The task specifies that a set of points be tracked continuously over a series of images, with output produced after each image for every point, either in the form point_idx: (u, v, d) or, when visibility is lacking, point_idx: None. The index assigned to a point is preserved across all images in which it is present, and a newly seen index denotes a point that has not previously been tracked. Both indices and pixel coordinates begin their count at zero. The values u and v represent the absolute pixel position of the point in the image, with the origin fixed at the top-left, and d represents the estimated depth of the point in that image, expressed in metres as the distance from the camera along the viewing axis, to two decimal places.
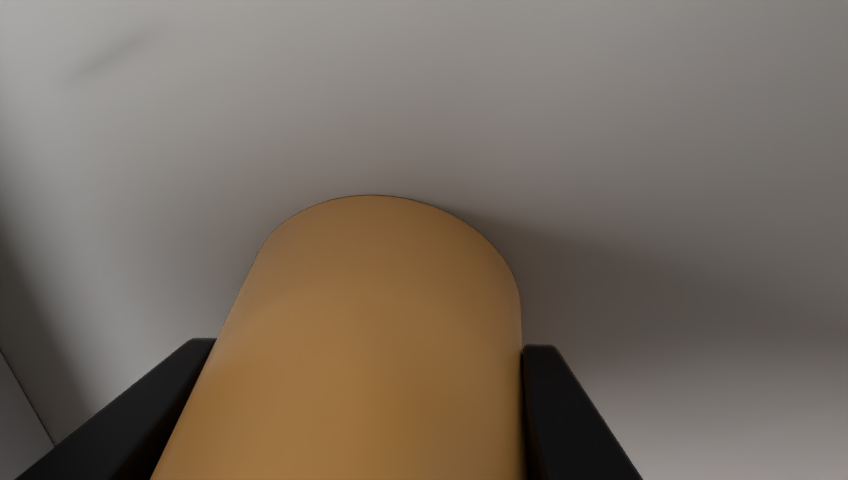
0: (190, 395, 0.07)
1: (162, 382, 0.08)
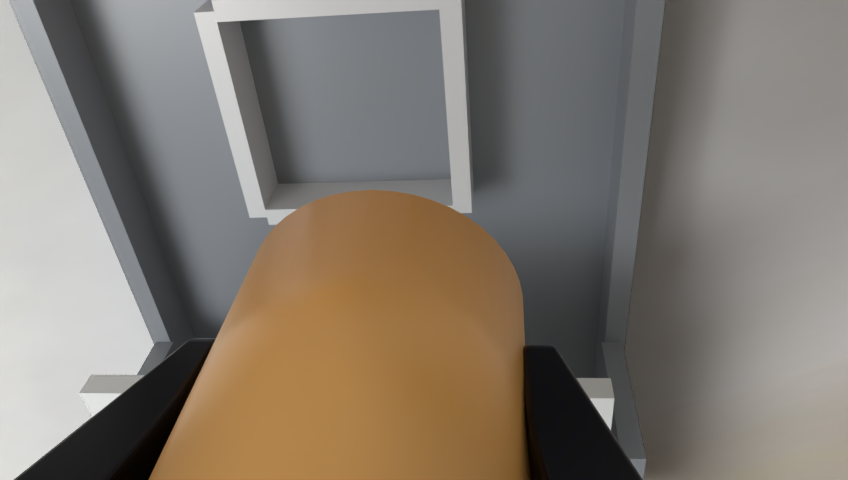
0: (191, 390, 0.07)
1: (162, 382, 0.08)
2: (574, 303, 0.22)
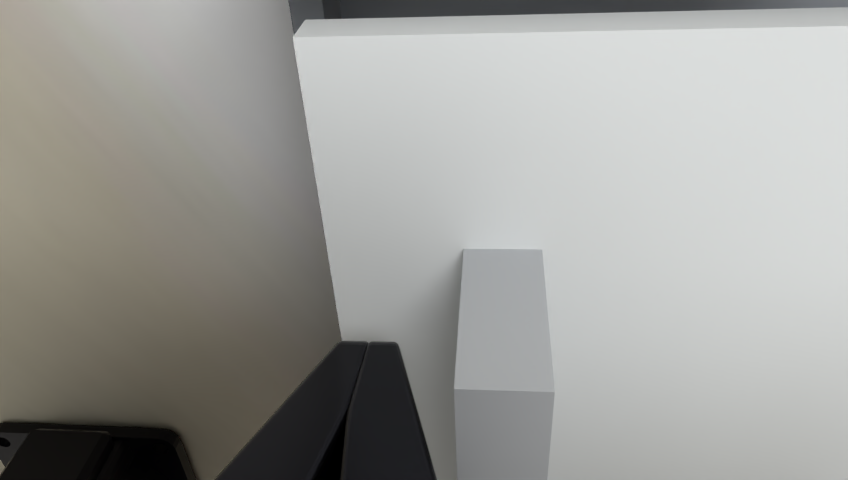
0: None
1: (327, 387, 0.08)
2: None
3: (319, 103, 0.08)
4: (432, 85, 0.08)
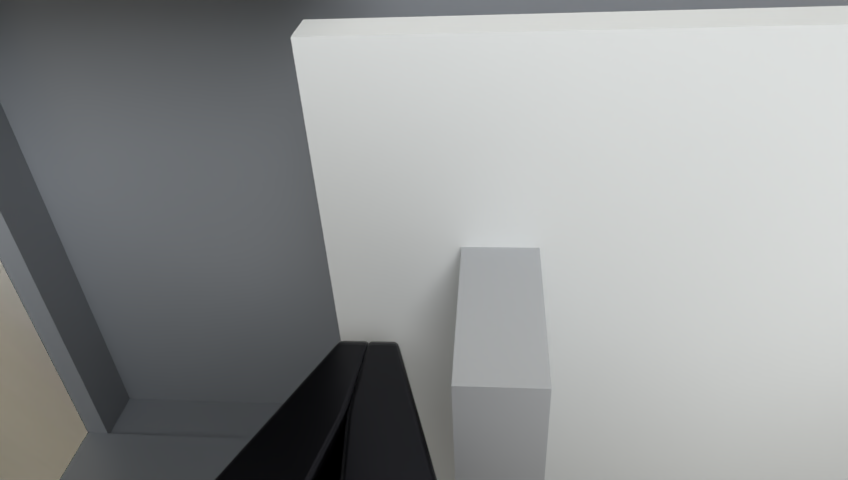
0: None
1: (327, 387, 0.08)
2: None
3: (317, 102, 0.08)
4: (430, 84, 0.08)
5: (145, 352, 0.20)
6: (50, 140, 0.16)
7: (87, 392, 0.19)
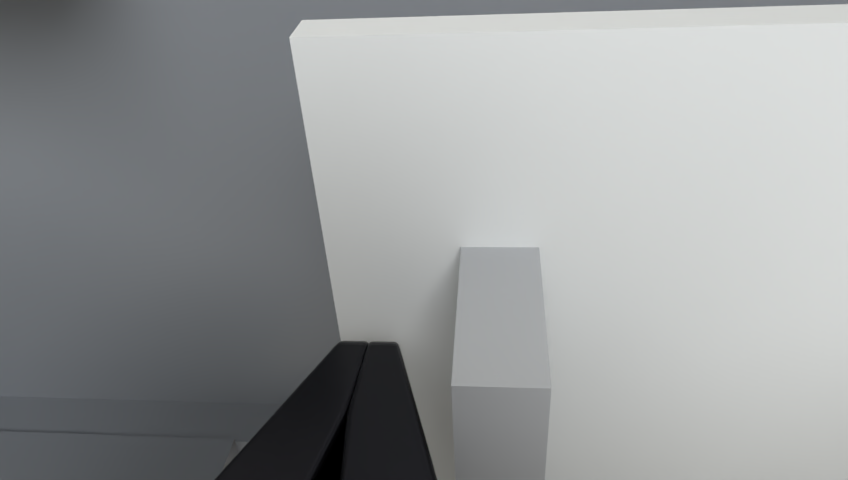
0: None
1: (326, 387, 0.08)
2: (254, 385, 0.20)
3: (316, 103, 0.08)
4: (429, 84, 0.08)
5: None
6: None
7: None
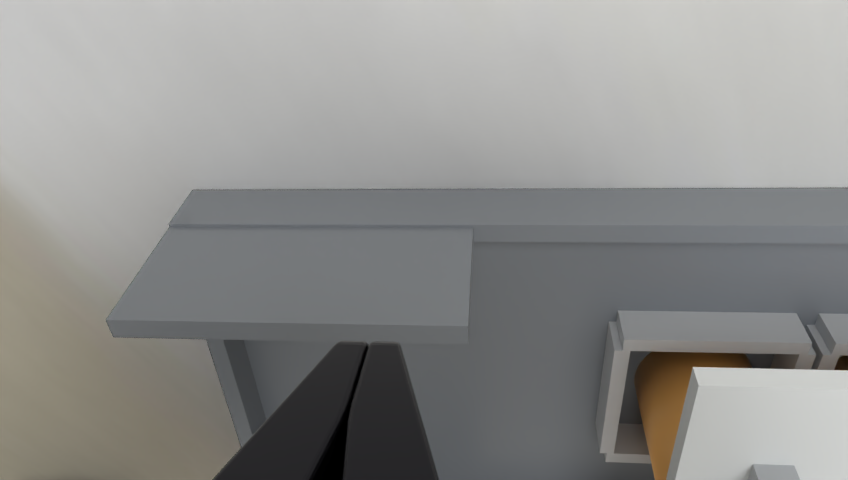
0: None
1: (325, 387, 0.08)
2: (486, 475, 0.29)
3: (701, 408, 0.16)
4: (760, 404, 0.16)
5: None
6: None
7: None
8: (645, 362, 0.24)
